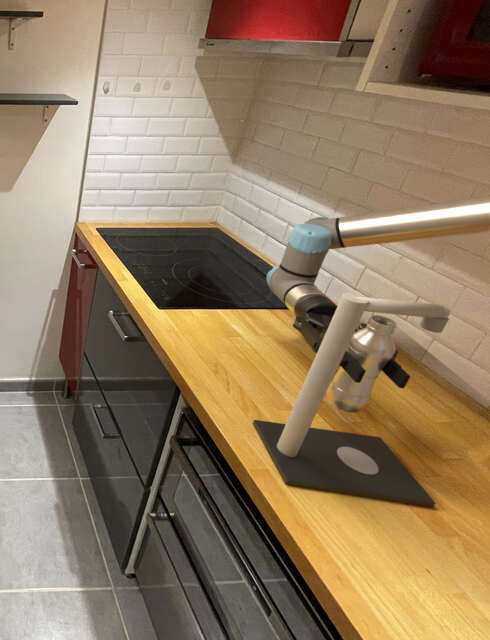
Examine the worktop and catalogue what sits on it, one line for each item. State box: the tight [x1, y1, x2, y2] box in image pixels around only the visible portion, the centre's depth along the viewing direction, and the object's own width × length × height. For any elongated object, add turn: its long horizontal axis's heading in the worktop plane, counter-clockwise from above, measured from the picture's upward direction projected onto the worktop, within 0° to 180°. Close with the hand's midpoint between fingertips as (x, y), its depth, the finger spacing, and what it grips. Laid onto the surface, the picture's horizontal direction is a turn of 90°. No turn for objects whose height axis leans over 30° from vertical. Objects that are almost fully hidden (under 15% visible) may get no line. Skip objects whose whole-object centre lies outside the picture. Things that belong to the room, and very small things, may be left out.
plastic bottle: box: [325, 314, 397, 414], centre depth 84 cm, size 6×7×20 cm
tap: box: [252, 292, 451, 509], centre depth 77 cm, size 23×14×35 cm, turn 80°
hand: (382, 379), depth 79 cm, fingers closed on plastic bottle, 6 cm apart
